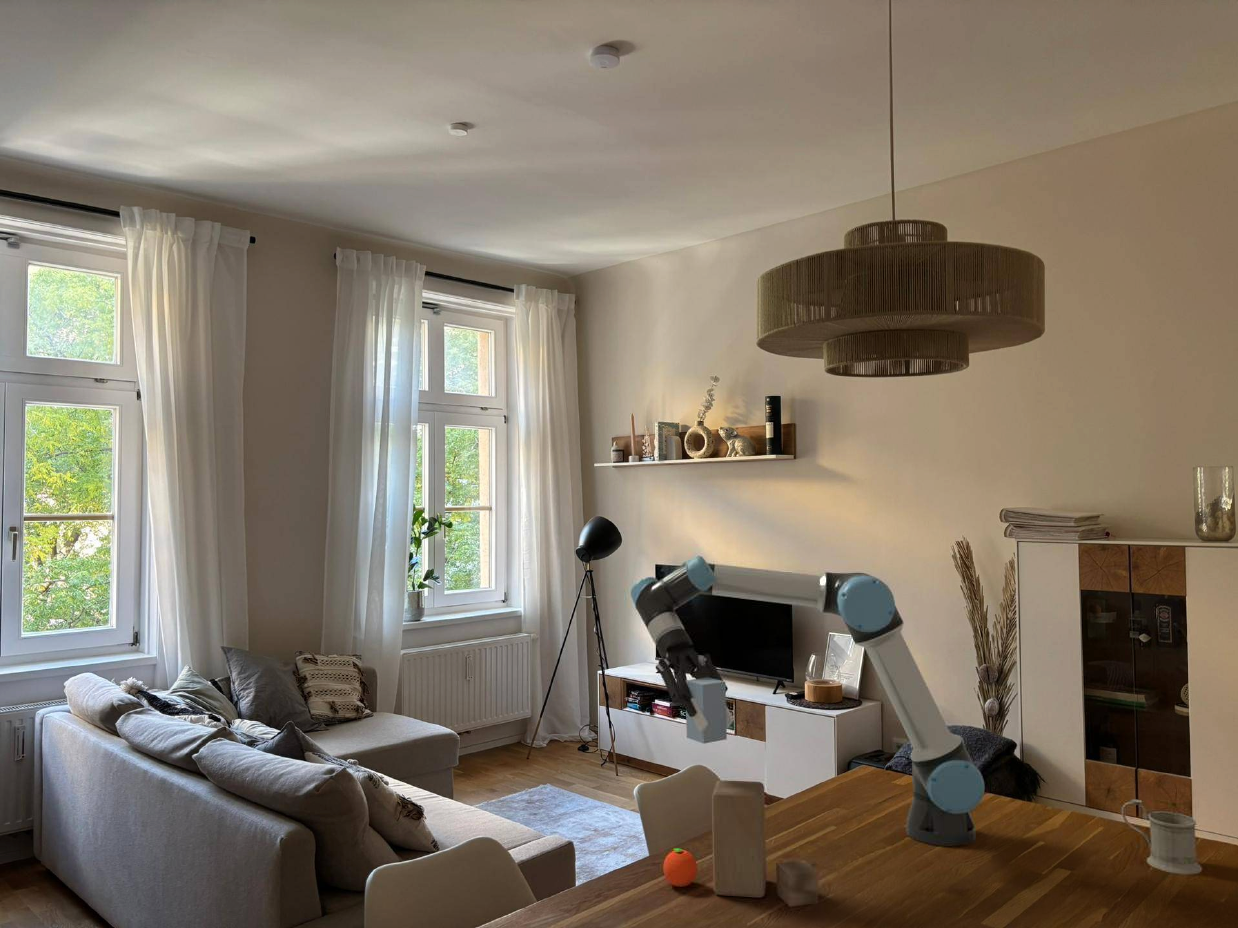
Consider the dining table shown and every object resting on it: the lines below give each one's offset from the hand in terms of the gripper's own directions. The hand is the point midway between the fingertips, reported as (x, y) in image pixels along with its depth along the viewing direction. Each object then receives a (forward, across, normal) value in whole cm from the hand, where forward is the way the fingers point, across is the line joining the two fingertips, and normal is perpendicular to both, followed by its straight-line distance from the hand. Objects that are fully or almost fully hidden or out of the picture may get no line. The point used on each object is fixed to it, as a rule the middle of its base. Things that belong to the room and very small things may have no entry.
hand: (717, 725), depth 188 cm
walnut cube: (+33, -7, -11) cm, 36 cm away
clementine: (+20, +8, -24) cm, 33 cm away
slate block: (0, 0, -5) cm, 5 cm away
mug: (+54, -83, +10) cm, 99 cm away
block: (+26, -1, -18) cm, 32 cm away
